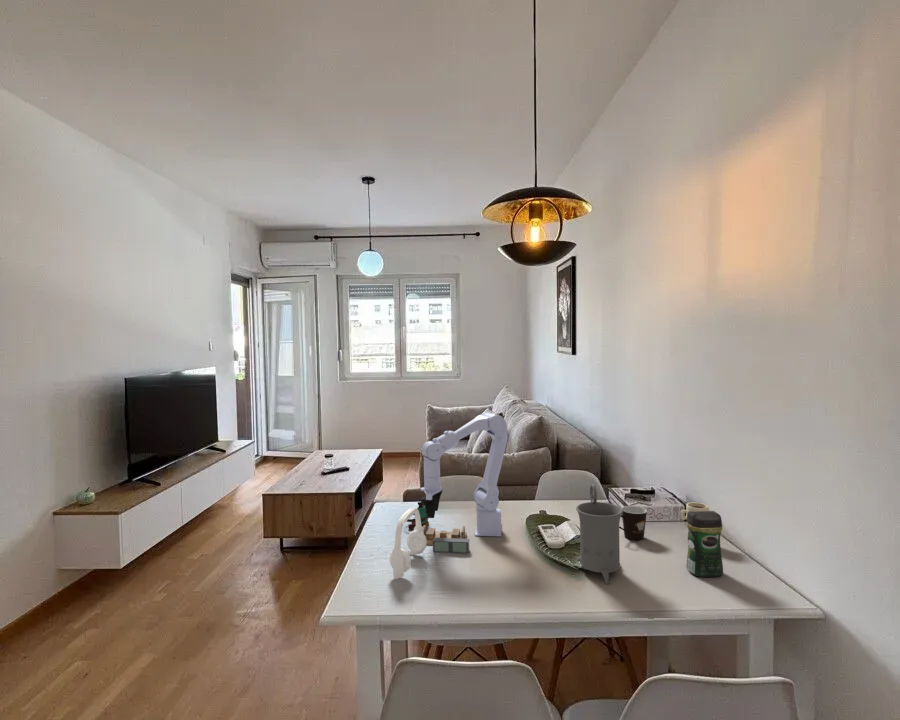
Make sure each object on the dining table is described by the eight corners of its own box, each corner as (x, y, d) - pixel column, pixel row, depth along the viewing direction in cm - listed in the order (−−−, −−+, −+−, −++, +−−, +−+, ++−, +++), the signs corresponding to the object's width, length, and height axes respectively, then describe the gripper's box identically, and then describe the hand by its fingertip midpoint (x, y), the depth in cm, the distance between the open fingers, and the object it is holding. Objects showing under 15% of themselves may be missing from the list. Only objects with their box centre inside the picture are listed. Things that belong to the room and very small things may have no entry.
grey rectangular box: (469, 550, 179) (469, 538, 179) (468, 554, 176) (468, 542, 176) (434, 549, 181) (434, 537, 181) (432, 553, 178) (432, 541, 177)
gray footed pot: (633, 584, 152) (632, 498, 151) (581, 584, 152) (581, 499, 152) (614, 557, 171) (614, 481, 170) (568, 557, 171) (568, 481, 170)
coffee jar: (714, 566, 163) (714, 507, 162) (727, 578, 155) (727, 515, 154) (682, 567, 163) (682, 507, 162) (693, 578, 155) (693, 516, 154)
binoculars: (405, 497, 207) (430, 496, 205) (408, 523, 207) (432, 523, 205) (399, 503, 198) (425, 502, 197) (401, 531, 199) (427, 531, 197)
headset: (408, 582, 156) (406, 522, 155) (385, 579, 158) (384, 520, 157) (429, 555, 175) (428, 502, 175) (409, 553, 177) (408, 500, 177)
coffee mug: (643, 533, 191) (643, 506, 191) (649, 542, 183) (649, 513, 182) (610, 532, 193) (610, 505, 192) (615, 541, 184) (615, 513, 184)
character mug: (710, 539, 185) (710, 502, 184) (717, 547, 178) (717, 509, 177) (678, 537, 186) (677, 501, 186) (683, 545, 179) (683, 508, 179)
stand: (466, 535, 193) (466, 524, 192) (464, 545, 183) (464, 534, 183) (423, 533, 195) (423, 523, 194) (418, 544, 185) (418, 533, 184)
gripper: (424, 470, 194) (425, 507, 194) (416, 481, 179) (417, 520, 180) (443, 470, 193) (444, 507, 193) (437, 481, 178) (438, 521, 179)
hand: (432, 514), depth 186 cm, fingers open, 7 cm apart
